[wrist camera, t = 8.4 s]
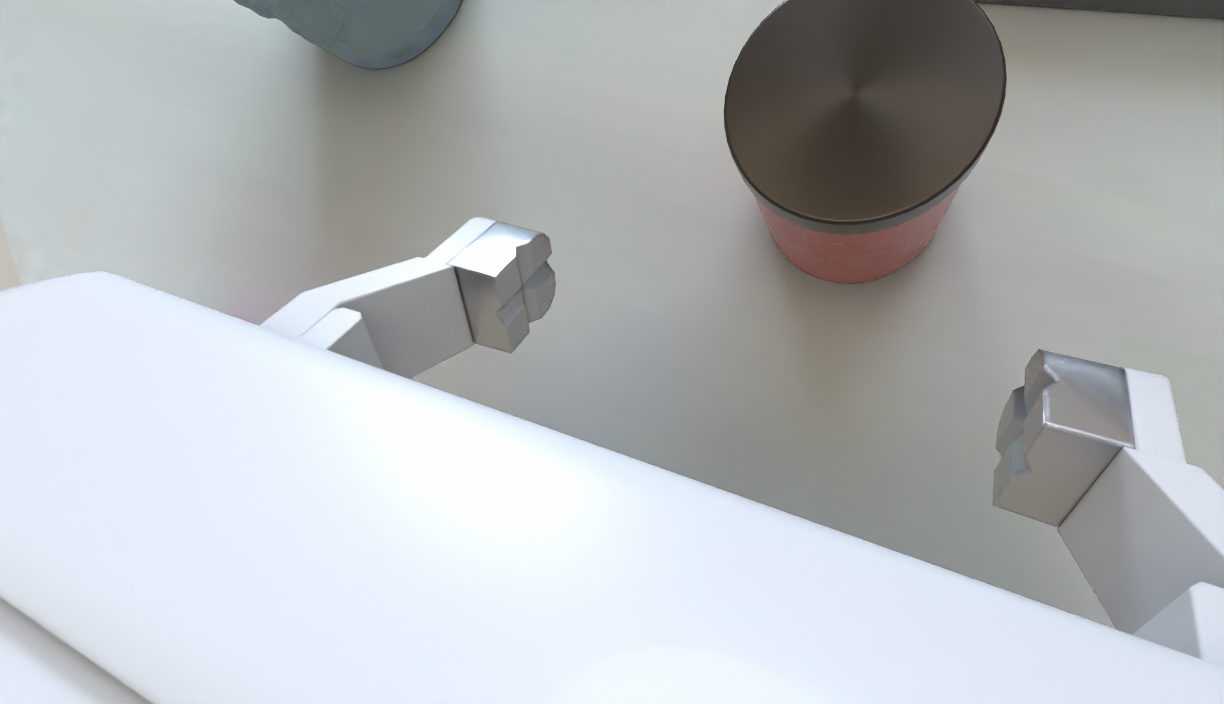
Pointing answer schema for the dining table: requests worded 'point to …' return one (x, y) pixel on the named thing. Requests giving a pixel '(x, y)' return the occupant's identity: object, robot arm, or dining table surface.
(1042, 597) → the dining table surface
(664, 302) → the dining table surface
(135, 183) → the dining table surface
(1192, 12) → the hob
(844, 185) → the red tin
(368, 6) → the blue-grey embossed cup
